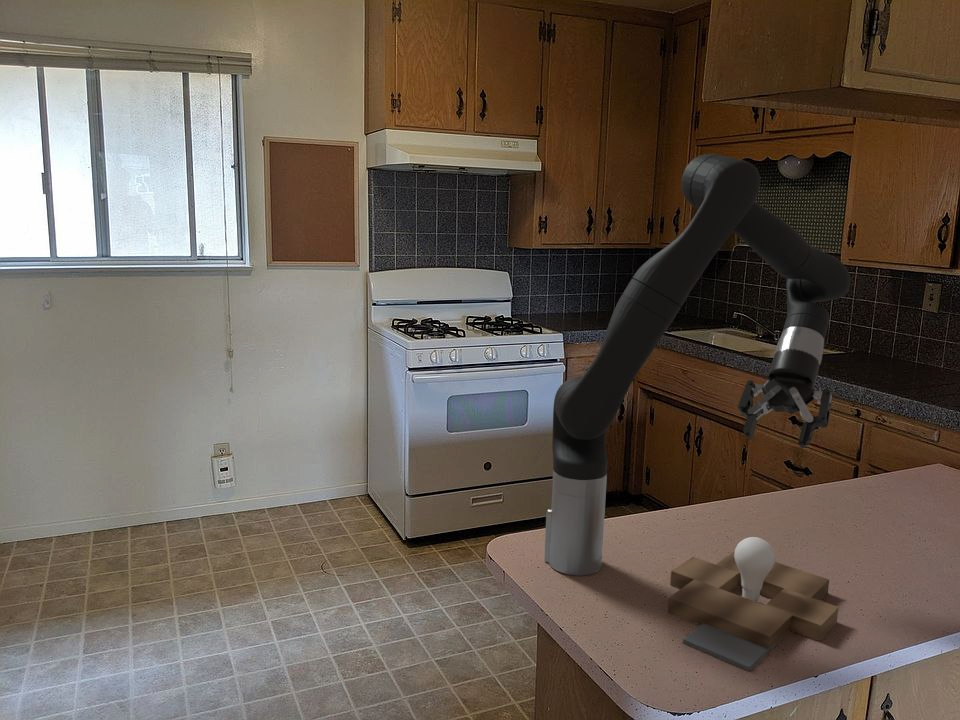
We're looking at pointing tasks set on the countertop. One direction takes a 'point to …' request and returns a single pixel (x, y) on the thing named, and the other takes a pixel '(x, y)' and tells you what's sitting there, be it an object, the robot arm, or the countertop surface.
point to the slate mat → (726, 646)
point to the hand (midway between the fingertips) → (774, 441)
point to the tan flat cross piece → (747, 619)
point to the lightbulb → (753, 565)
